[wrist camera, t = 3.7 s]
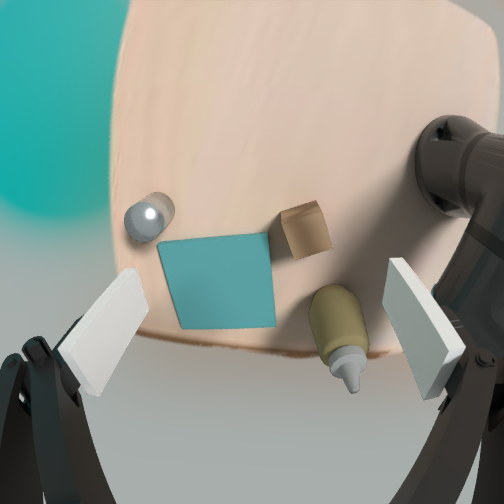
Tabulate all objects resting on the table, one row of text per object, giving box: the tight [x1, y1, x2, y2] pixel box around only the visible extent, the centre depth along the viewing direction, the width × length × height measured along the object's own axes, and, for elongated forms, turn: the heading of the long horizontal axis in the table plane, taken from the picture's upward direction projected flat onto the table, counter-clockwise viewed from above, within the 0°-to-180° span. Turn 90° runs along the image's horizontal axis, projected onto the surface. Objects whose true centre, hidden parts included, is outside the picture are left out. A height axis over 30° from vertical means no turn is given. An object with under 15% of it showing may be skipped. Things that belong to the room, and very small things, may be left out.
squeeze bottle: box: [308, 284, 369, 394], centre depth 35 cm, size 8×8×18 cm
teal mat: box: [157, 232, 276, 329], centre depth 42 cm, size 16×16×1 cm
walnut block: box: [280, 200, 333, 260], centre depth 36 cm, size 5×5×5 cm
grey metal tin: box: [124, 192, 175, 242], centre depth 35 cm, size 5×5×6 cm
